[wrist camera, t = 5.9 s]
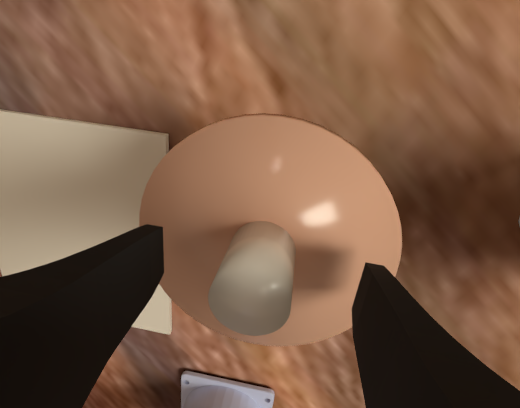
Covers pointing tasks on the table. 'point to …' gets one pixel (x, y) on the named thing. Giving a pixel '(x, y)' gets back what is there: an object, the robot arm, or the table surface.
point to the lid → (270, 227)
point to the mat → (73, 192)
